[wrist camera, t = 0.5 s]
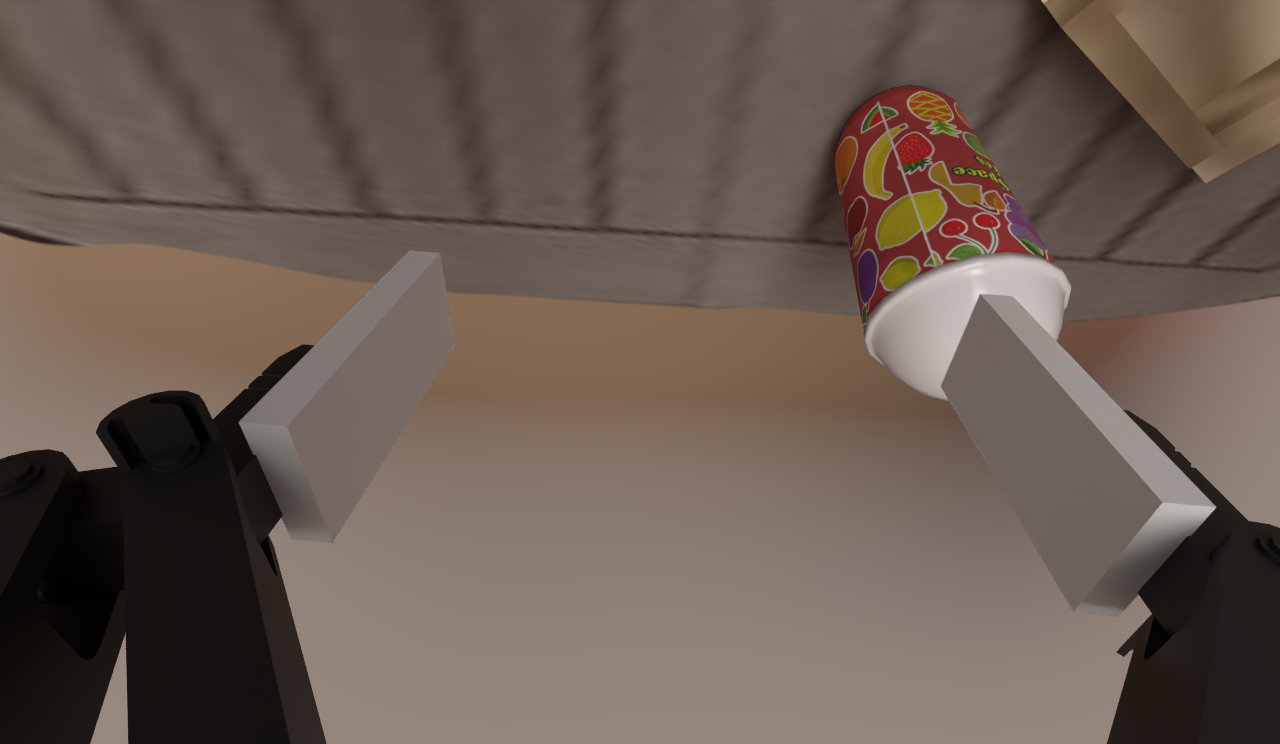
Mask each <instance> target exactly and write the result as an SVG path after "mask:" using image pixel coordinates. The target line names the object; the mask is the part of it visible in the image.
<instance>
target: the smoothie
mask: <svg viewBox="0 0 1280 744" xmlns="http://www.w3.org/2000/svg"><path fill="white" fill-rule="evenodd" d="M834 166H835V171H836V177H837V183H838V188H839V194H840V200H841V205H842V211H843V217H844V222H845V228H846V234H847V239H848V245H849V250H850V256H851V262H852V267H853V273H854V279H855V284H856V290H857V296H858V301H859V307H860V313H861V318H862V323H863V327H864V341H865V344H866V348H867V351H868V353H869V354H870V355H871V356H873V357H874V358H875V359H876V360H878V361H879V362H880V363H881V364H883V365H885V366H886V367H887V368H888V369H889V370H890V371H891V372H892V373H893V374H894V375H895V376H896V377H897V378H898V379H900V380H901V381H902V382H903V383H905V384H906V385H908V386H909V387H911V388H912V389H913V390H915V391H918V392H920V393H922V394H924V395H927V396H930V397H933V398H936V399H940V400H945V401H949V400H948V398H947V396H946V395H945V393H944V391H943V390H942V388H941V384H942V382H943V379H944V377H945V375H946V372H947V370H948V368H949V365H950V363H951V361H952V358H953V356H954V354H955V351H956V349H957V347H958V344H959V342H960V340H961V337H962V335H963V333H964V330H965V328H966V326H967V323H968V321H969V319H970V316H971V314H972V312H973V309H974V307H975V305H976V302H977V300H978V297H979V295H980V294H991V295H1004V296H1013V297H1014V298H1015V299H1016V300H1017V301H1018V302H1019V303H1020V304H1021V305H1022V306H1023V307H1024V308H1025V309H1026V310H1027V311H1028V313H1029V314H1030V315H1031V316H1032V317H1033V318H1034V319H1035V320H1036V321H1037V322H1038V323H1039V324H1040V325H1041V326H1042V327H1043V328H1044V329H1045V330H1046V331H1047V332H1048V333H1049V334H1050V335H1051V336H1052V337H1053V338H1054V339H1055V340H1056V342H1057V341H1058V339H1059V336H1060V332H1061V327H1062V322H1063V314H1064V310H1065V309H1066V307H1067V306H1068V301H1069V297H1070V292H1071V287H1072V286H1071V284H1070V282H1069V281H1068V279H1067V277H1066V275H1065V273H1064V272H1063V270H1062V269H1061V268H1060V267H1059V266H1058V265H1056V263H1055V262H1054V260H1053V258H1052V257H1051V255H1050V254H1049V252H1048V250H1047V249H1046V247H1045V246H1044V244H1043V242H1042V241H1041V239H1040V238H1039V236H1038V234H1037V233H1036V231H1035V229H1034V228H1033V226H1032V225H1031V223H1030V221H1029V220H1028V218H1027V217H1026V215H1025V213H1024V212H1023V210H1022V209H1021V207H1020V205H1019V204H1018V202H1017V201H1016V199H1015V197H1014V196H1013V194H1012V192H1011V191H1010V189H1009V188H1008V186H1007V184H1006V183H1005V181H1004V180H1003V178H1002V176H1001V175H1000V173H999V172H998V170H997V168H996V167H995V165H994V164H993V162H992V160H991V159H990V157H989V155H988V154H987V152H986V151H985V149H984V147H983V146H982V144H981V143H980V141H979V139H978V138H977V136H976V135H975V133H974V131H973V130H972V128H971V127H970V125H969V123H968V122H967V120H966V118H965V117H964V115H963V113H962V112H961V110H960V109H959V107H958V105H957V104H956V102H955V101H954V100H953V99H951V98H950V97H948V96H946V95H944V94H942V93H941V92H936V91H931V90H929V89H928V88H926V87H919V86H911V85H909V86H903V87H897V88H892V89H890V90H887V91H885V92H883V93H880V94H878V95H876V96H874V97H873V98H871V99H870V100H868V101H867V102H866V103H864V104H863V105H862V106H860V107H859V108H858V109H857V111H856V112H855V113H854V114H853V115H852V116H851V117H850V118H849V120H848V122H847V124H846V126H845V128H844V130H843V132H842V135H841V138H840V140H839V142H838V144H837V147H836V150H835V159H834Z"/></svg>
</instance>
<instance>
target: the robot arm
mask: <svg viewBox="0 0 1280 744" xmlns="http://www.w3.org/2000/svg"><path fill="white" fill-rule="evenodd" d="M454 347H455V344H454V337H453V331H452V326H451V319H450V312H449V306H448V300H447V293H446V287H445V281H444V274H443V268H442V262H441V256H440V253H439V252H426V251H413V250H409V251H408V252H407V253H406V254H405V255H404V256H403V257H402V258H401V259H400V260H399V261H398V262H397V263H396V264H395V265H394V266H393V267H392V268H391V269H390V270H389V271H388V272H387V273H386V274H385V275H384V276H383V277H382V278H381V279H380V280H379V281H378V282H377V283H376V284H375V286H374V287H373V288H371V290H370V291H369V292H368V293H367V294H366V295H365V296H364V297H363V298H362V299H361V300H360V301H359V302H358V303H357V304H356V305H355V306H354V307H353V308H352V309H351V310H350V311H349V312H348V313H347V314H346V315H345V316H344V317H343V318H342V319H341V320H340V321H339V322H338V323H337V324H336V325H335V326H334V327H333V328H332V329H331V330H330V331H329V332H328V333H327V334H326V335H325V336H324V337H323V338H322V339H321V340H320V341H319V342H318V343H317V344H316V345H301V346H299V347H297V348H295V349H293V350H291V351H289V352H288V353H286V354H284V355H282V356H280V357H278V358H277V359H276V360H275V361H274V362H273V363H272V364H271V365H270V366H269V367H268V368H267V369H266V370H265V371H263V373H262V376H258V377H257V378H256V379H255V380H254V381H253V382H252V383H251V384H250V385H249V388H248V389H245V390H243V391H242V392H241V393H240V394H239V395H238V396H237V397H236V398H235V399H234V400H233V401H232V402H231V403H230V404H229V405H228V406H226V407H225V408H224V409H223V410H222V411H221V412H220V413H219V414H218V415H217V416H216V417H215V418H214V419H212V417H211V415H210V413H209V411H208V409H207V407H206V405H205V403H204V401H203V400H202V399H201V397H200V396H199V395H197V394H195V393H192V392H189V391H165V392H159V393H154V394H149V395H146V396H143V397H141V398H138V399H135V400H132V401H129V402H128V403H126V404H124V405H122V406H120V407H119V408H117V409H115V410H113V411H112V412H111V413H110V414H108V415H107V416H106V417H105V418H104V419H103V420H102V421H101V422H100V424H99V426H98V429H97V431H96V434H97V435H98V437H99V438H100V440H101V442H102V443H103V445H104V446H105V448H106V449H107V451H108V452H109V454H110V455H111V457H112V459H113V460H114V462H115V463H116V465H117V466H118V467H112V468H104V469H96V470H89V471H81V472H78V471H77V469H76V468H75V467H74V465H73V464H72V462H71V461H70V460H69V458H68V457H67V456H66V455H65V454H64V453H63V452H59V451H54V450H49V449H48V450H37V451H28V452H24V453H20V454H17V455H11V456H8V457H5V458H2V459H0V744H90V742H91V739H92V736H93V733H94V730H95V726H96V723H97V720H98V717H99V714H100V711H101V707H102V705H103V701H104V698H105V695H106V692H107V689H108V686H109V683H110V679H111V676H112V673H113V670H114V667H115V664H116V660H117V658H118V654H119V651H120V648H121V645H122V641H123V639H124V636H125V632H126V663H127V703H128V704H127V705H128V744H326V740H325V736H324V732H323V729H322V725H321V721H320V717H319V714H318V710H317V706H316V702H315V699H314V695H313V691H312V688H311V684H310V680H309V676H308V672H307V669H306V665H305V661H304V658H303V654H302V650H301V646H300V643H299V639H298V635H297V631H296V628H295V624H294V620H293V616H292V613H291V609H290V605H289V601H288V598H287V594H286V590H285V587H284V583H283V579H282V575H281V572H280V568H279V564H278V560H277V556H276V553H275V549H274V546H273V544H272V542H271V539H270V537H269V535H268V534H269V533H270V532H271V530H272V529H273V528H274V526H275V525H276V523H277V522H278V521H279V520H280V518H281V517H282V519H283V522H284V524H285V526H286V528H287V531H288V533H289V535H290V537H291V539H297V540H309V541H319V542H330V543H333V541H334V540H335V538H336V536H337V535H338V533H339V532H340V530H341V528H342V527H343V525H344V523H345V522H346V520H347V519H348V517H349V516H350V514H351V512H352V511H353V509H354V508H355V506H356V504H357V503H358V501H359V500H360V498H361V496H362V495H363V493H364V492H365V490H366V488H367V487H368V485H369V484H370V482H371V480H372V479H373V477H374V475H375V474H376V472H377V471H378V469H379V468H380V466H381V464H382V462H383V461H384V460H385V458H386V456H387V455H388V453H389V451H390V450H391V448H392V447H393V445H394V444H395V442H396V440H397V438H398V437H399V436H400V434H401V432H402V431H403V429H404V428H405V426H406V424H407V423H408V421H409V420H410V418H411V416H412V415H413V413H414V411H415V410H416V408H417V407H418V405H419V404H420V402H421V400H422V399H423V397H424V396H425V394H426V392H427V391H428V389H429V388H430V386H431V384H432V383H433V381H434V380H435V378H436V376H437V375H438V373H439V371H440V370H441V368H442V367H443V365H444V364H445V362H446V360H447V359H448V357H449V356H450V354H451V352H452V350H453V349H454ZM941 388H942V390H943V391H944V393H945V395H946V396H947V398H948V400H949V401H950V403H951V405H952V406H953V408H954V410H955V412H956V413H957V415H958V417H959V418H960V420H961V422H962V424H963V425H964V427H965V428H966V430H967V432H968V433H969V435H970V437H971V439H972V441H973V442H974V444H975V446H976V447H977V449H978V451H979V452H980V454H981V456H982V458H983V459H984V461H985V463H986V464H987V466H988V468H989V469H990V471H991V473H992V475H993V476H994V478H995V480H996V481H997V483H998V485H999V486H1000V488H1001V490H1002V491H1003V493H1004V495H1005V497H1006V498H1007V500H1008V502H1009V504H1010V505H1011V507H1012V509H1013V510H1014V512H1015V514H1016V515H1017V517H1018V519H1019V521H1020V522H1021V524H1022V526H1023V527H1024V529H1025V530H1026V532H1027V534H1028V536H1029V538H1030V539H1031V541H1032V543H1033V544H1034V546H1035V548H1036V549H1037V551H1038V553H1039V555H1040V556H1041V558H1042V559H1043V561H1044V563H1045V565H1046V566H1047V568H1048V570H1049V572H1050V573H1051V575H1052V576H1053V578H1054V580H1055V582H1056V583H1057V585H1058V587H1059V588H1060V590H1061V592H1062V594H1063V595H1064V597H1065V599H1066V600H1067V602H1068V604H1069V606H1070V607H1071V609H1072V611H1073V612H1077V613H1088V614H1098V615H1109V616H1119V615H1120V614H1121V613H1122V612H1123V611H1124V610H1125V609H1126V608H1127V606H1128V605H1129V604H1130V603H1131V602H1132V601H1133V599H1135V598H1136V596H1137V595H1138V594H1139V595H1140V597H1141V598H1142V600H1143V601H1144V603H1145V604H1146V606H1147V607H1148V608H1149V610H1150V611H1151V613H1152V615H1151V616H1150V617H1149V618H1148V619H1147V620H1146V621H1145V622H1144V623H1143V624H1142V625H1141V626H1140V627H1139V628H1138V629H1137V630H1136V632H1134V633H1133V635H1132V636H1131V637H1130V638H1129V639H1128V640H1127V641H1126V642H1125V643H1124V644H1123V645H1122V646H1121V648H1120V649H1119V650H1118V651H1117V653H1119V654H1120V655H1122V656H1123V657H1124V656H1125V655H1126V654H1127V653H1128V652H1129V651H1130V650H1134V651H1133V654H1132V658H1131V661H1130V665H1129V668H1128V672H1127V675H1126V679H1125V682H1124V686H1123V689H1122V693H1121V696H1120V700H1119V703H1118V707H1117V710H1116V714H1115V717H1114V721H1113V724H1112V728H1111V731H1110V735H1109V738H1108V742H1107V744H1280V528H1278V527H1275V526H1272V525H1270V524H1264V523H1257V522H1251V521H1250V522H1249V521H1248V520H1247V519H1246V518H1245V517H1244V516H1243V515H1242V514H1241V513H1240V512H1239V511H1238V510H1237V509H1236V508H1235V507H1234V506H1233V505H1232V504H1231V503H1230V502H1229V501H1228V500H1227V499H1226V498H1225V497H1224V496H1223V495H1222V494H1221V493H1220V492H1219V491H1218V490H1217V489H1216V488H1215V487H1214V486H1213V485H1212V484H1211V483H1210V482H1209V481H1208V480H1207V479H1206V478H1205V477H1204V476H1203V475H1202V474H1201V473H1200V472H1199V471H1198V470H1197V469H1196V468H1191V463H1190V462H1189V461H1188V460H1187V459H1186V458H1185V457H1184V456H1183V455H1182V454H1181V453H1180V452H1176V451H1175V447H1174V446H1173V445H1172V444H1171V443H1170V442H1169V441H1168V440H1167V439H1166V438H1165V437H1164V436H1163V435H1162V434H1161V433H1160V432H1159V431H1158V430H1157V429H1156V428H1154V427H1153V426H1151V425H1150V424H1148V423H1147V422H1145V421H1144V420H1142V419H1140V418H1139V417H1137V416H1136V415H1134V414H1133V413H1131V412H1130V411H1127V410H1122V409H1121V408H1120V407H1119V406H1118V405H1117V404H1116V403H1115V402H1114V401H1113V400H1112V398H1111V397H1110V396H1109V395H1108V394H1107V393H1106V392H1105V391H1104V390H1103V389H1102V388H1101V387H1100V386H1099V385H1098V384H1097V383H1096V382H1095V381H1094V380H1093V379H1092V378H1091V377H1090V376H1089V375H1088V374H1087V373H1086V372H1085V371H1084V369H1083V368H1081V367H1080V365H1079V364H1078V363H1077V362H1076V361H1075V360H1074V359H1073V358H1072V357H1071V356H1070V355H1069V354H1068V353H1067V352H1066V351H1065V350H1064V349H1063V348H1062V347H1061V346H1060V345H1059V344H1058V343H1057V342H1056V340H1055V339H1054V338H1053V337H1052V336H1051V335H1050V334H1049V333H1048V332H1047V331H1046V330H1045V329H1044V328H1043V327H1042V326H1041V325H1040V324H1039V323H1038V322H1037V321H1036V320H1035V319H1034V318H1033V317H1032V316H1031V315H1030V314H1029V313H1028V311H1027V310H1026V309H1025V308H1024V307H1023V306H1022V305H1021V304H1020V303H1019V302H1018V301H1017V300H1016V299H1015V298H1014V297H1013V296H1004V295H991V294H980V295H979V297H978V300H977V302H976V305H975V307H974V309H973V312H972V314H971V316H970V319H969V321H968V323H967V326H966V328H965V330H964V333H963V335H962V337H961V340H960V342H959V344H958V347H957V349H956V351H955V354H954V356H953V358H952V361H951V363H950V365H949V368H948V370H947V372H946V375H945V377H944V379H943V382H942V384H941Z"/></svg>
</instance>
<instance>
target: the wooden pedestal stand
mask: <svg viewBox="0 0 1280 744" xmlns="http://www.w3.org/2000/svg"><path fill="white" fill-rule="evenodd" d="M1041 1H1042V2H1043V3H1044V5H1045V6H1046V7H1047V9H1048V10H1049V12H1050V13H1051V14H1052V16H1053V17H1054V19H1055V20H1056V21H1057V23H1058V24H1059V25H1060V27H1061V28H1062V29H1063V30H1064V31H1065V33H1066V34H1067V35H1068V36H1069V37H1070V38H1071V39H1072V40H1073V41H1074V42H1075V44H1076V45H1077V46H1078V47H1079V48H1080V49H1081V50H1082V51H1083V52H1084V53H1085V55H1086V56H1087V57H1088V58H1089V59H1090V60H1091V61H1092V62H1093V63H1094V64H1095V66H1096V67H1097V68H1098V69H1099V70H1100V71H1101V72H1102V73H1103V74H1104V76H1105V77H1106V78H1107V79H1108V80H1109V81H1110V82H1111V83H1112V84H1113V85H1114V87H1115V88H1116V89H1117V90H1118V91H1119V92H1120V93H1121V94H1122V95H1123V96H1124V98H1125V99H1126V100H1127V101H1128V102H1129V103H1130V104H1131V105H1132V106H1133V107H1134V109H1135V110H1136V111H1137V112H1138V113H1139V114H1140V115H1141V116H1142V117H1143V118H1144V120H1145V121H1146V122H1147V123H1148V124H1149V125H1150V126H1151V127H1152V128H1153V129H1154V131H1155V132H1156V133H1157V134H1158V135H1159V136H1160V137H1161V138H1162V139H1163V141H1164V142H1165V143H1166V144H1167V145H1168V146H1169V147H1170V148H1171V149H1172V150H1173V152H1174V153H1175V154H1176V155H1177V156H1178V157H1179V158H1180V159H1181V160H1182V161H1183V163H1184V164H1185V165H1186V166H1187V167H1188V168H1189V169H1190V168H1192V169H1193V170H1194V171H1195V172H1196V173H1197V174H1198V175H1199V176H1200V177H1201V179H1202V180H1203V181H1204V182H1205V183H1207V182H1209V181H1211V180H1213V179H1215V178H1216V177H1218V176H1220V175H1222V174H1224V173H1225V172H1227V171H1229V170H1231V169H1233V168H1235V167H1236V166H1238V165H1240V164H1242V163H1244V162H1246V161H1247V160H1249V159H1251V158H1253V157H1255V156H1257V155H1258V154H1260V153H1262V152H1264V151H1266V150H1267V149H1269V148H1271V147H1273V146H1275V145H1277V144H1278V143H1280V0H1041Z"/></svg>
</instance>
